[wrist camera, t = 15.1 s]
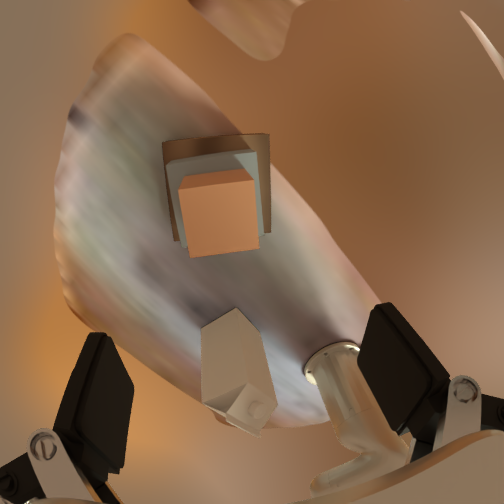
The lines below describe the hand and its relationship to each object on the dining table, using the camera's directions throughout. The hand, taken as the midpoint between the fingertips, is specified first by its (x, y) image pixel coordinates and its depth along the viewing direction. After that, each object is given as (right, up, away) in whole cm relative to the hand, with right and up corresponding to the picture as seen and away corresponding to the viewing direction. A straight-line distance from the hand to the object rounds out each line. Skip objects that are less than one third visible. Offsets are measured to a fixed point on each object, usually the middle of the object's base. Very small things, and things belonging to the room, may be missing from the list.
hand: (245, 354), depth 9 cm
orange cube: (-3, +9, +19) cm, 21 cm away
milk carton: (-3, -9, +36) cm, 37 cm away
